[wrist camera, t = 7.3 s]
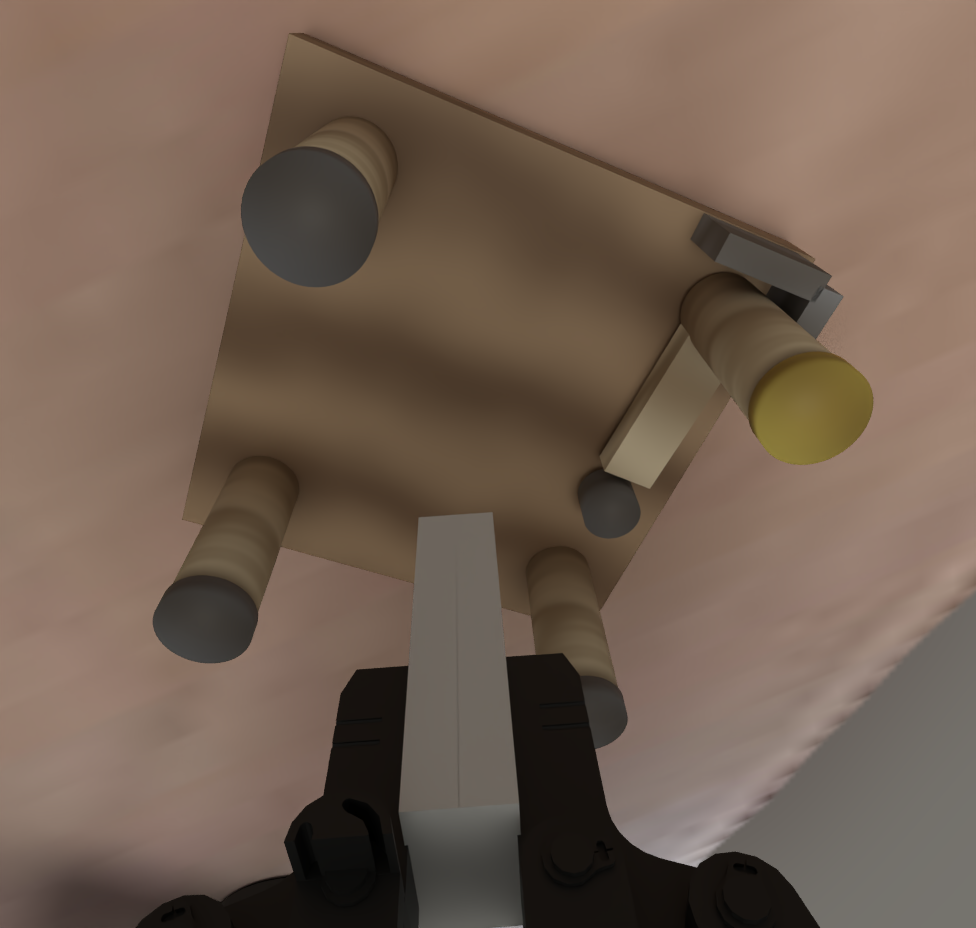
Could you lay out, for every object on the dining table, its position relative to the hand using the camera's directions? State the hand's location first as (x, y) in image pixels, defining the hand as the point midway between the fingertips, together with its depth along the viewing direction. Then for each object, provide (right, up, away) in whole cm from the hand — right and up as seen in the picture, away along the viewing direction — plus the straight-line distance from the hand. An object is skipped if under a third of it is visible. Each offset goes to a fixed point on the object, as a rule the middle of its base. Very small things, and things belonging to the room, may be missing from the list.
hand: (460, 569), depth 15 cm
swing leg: (+8, +5, +15) cm, 17 cm away
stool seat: (0, +6, +17) cm, 18 cm away
